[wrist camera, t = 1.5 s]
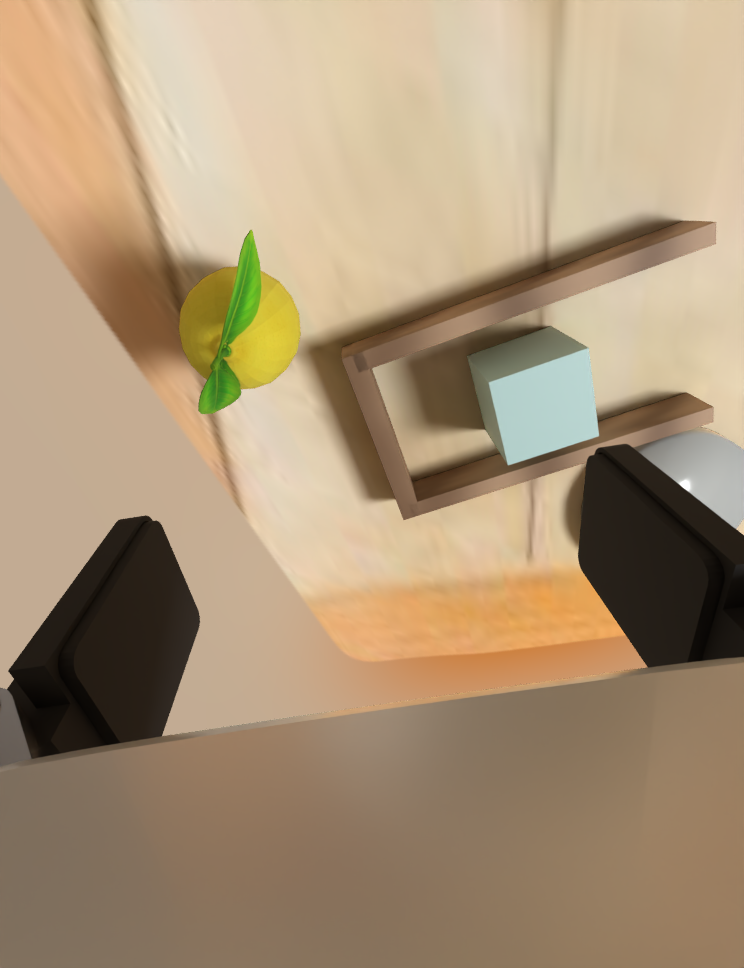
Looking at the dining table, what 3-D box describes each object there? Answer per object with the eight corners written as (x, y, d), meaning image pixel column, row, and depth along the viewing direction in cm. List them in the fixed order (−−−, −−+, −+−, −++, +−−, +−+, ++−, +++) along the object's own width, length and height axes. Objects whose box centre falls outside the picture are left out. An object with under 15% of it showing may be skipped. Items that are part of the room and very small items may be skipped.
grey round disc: (743, 402, 31) (761, 411, 29) (737, 533, 36) (752, 546, 35) (571, 457, 32) (581, 468, 31) (590, 576, 37) (598, 589, 36)
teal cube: (550, 325, 28) (588, 347, 23) (562, 403, 30) (599, 436, 26) (466, 355, 28) (488, 382, 24) (484, 429, 31) (507, 465, 26)
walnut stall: (684, 220, 25) (716, 222, 23) (687, 406, 31) (713, 422, 28) (341, 347, 28) (341, 359, 25) (399, 499, 33) (403, 519, 31)
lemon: (273, 223, 24) (235, 233, 16) (334, 327, 27) (329, 383, 18) (169, 293, 26) (81, 337, 17) (237, 385, 28) (190, 463, 20)
